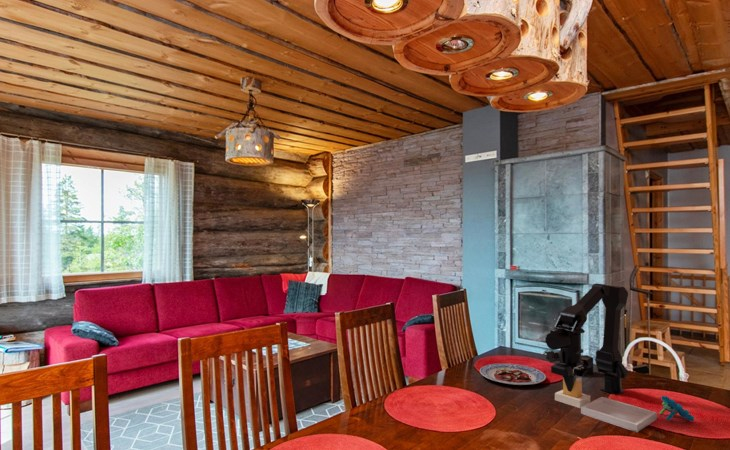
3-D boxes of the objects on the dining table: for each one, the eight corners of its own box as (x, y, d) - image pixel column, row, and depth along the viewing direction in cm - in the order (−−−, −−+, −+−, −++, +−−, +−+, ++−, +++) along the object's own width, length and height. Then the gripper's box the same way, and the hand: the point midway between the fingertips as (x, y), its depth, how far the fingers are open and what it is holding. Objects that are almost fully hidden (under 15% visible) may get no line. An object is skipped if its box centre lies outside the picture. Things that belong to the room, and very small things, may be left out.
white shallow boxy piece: (565, 395, 162) (565, 388, 163) (590, 402, 155) (590, 395, 155) (554, 400, 158) (554, 393, 158) (579, 408, 151) (579, 400, 151)
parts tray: (602, 402, 155) (602, 396, 155) (656, 419, 142) (656, 412, 142) (580, 413, 146) (580, 407, 146) (637, 432, 133) (637, 425, 133)
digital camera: (586, 370, 191) (586, 354, 191) (593, 374, 186) (593, 357, 186) (562, 370, 191) (562, 354, 191) (569, 375, 185) (569, 358, 185)
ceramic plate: (556, 389, 169) (556, 381, 169) (489, 389, 169) (489, 381, 169) (532, 368, 195) (532, 361, 195) (473, 368, 195) (473, 361, 195)
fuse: (568, 398, 160) (567, 373, 160) (581, 402, 156) (581, 376, 156) (563, 400, 158) (562, 375, 158) (577, 404, 154) (576, 379, 154)
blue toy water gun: (703, 422, 136) (677, 398, 137) (690, 436, 135) (664, 412, 137) (679, 412, 147) (655, 390, 148) (667, 425, 146) (643, 403, 148)
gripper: (563, 337, 169) (564, 378, 169) (536, 345, 158) (537, 389, 157) (593, 343, 160) (593, 386, 160) (566, 352, 149) (567, 399, 149)
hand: (572, 390), depth 157 cm, fingers closed on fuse, 3 cm apart
